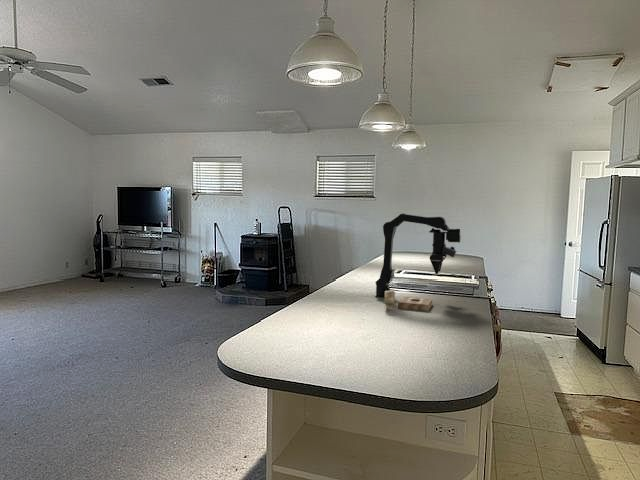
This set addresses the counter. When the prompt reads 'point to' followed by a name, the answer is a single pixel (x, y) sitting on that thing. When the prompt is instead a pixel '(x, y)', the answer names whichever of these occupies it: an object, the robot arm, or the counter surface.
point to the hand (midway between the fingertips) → (437, 272)
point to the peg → (389, 300)
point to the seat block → (415, 303)
